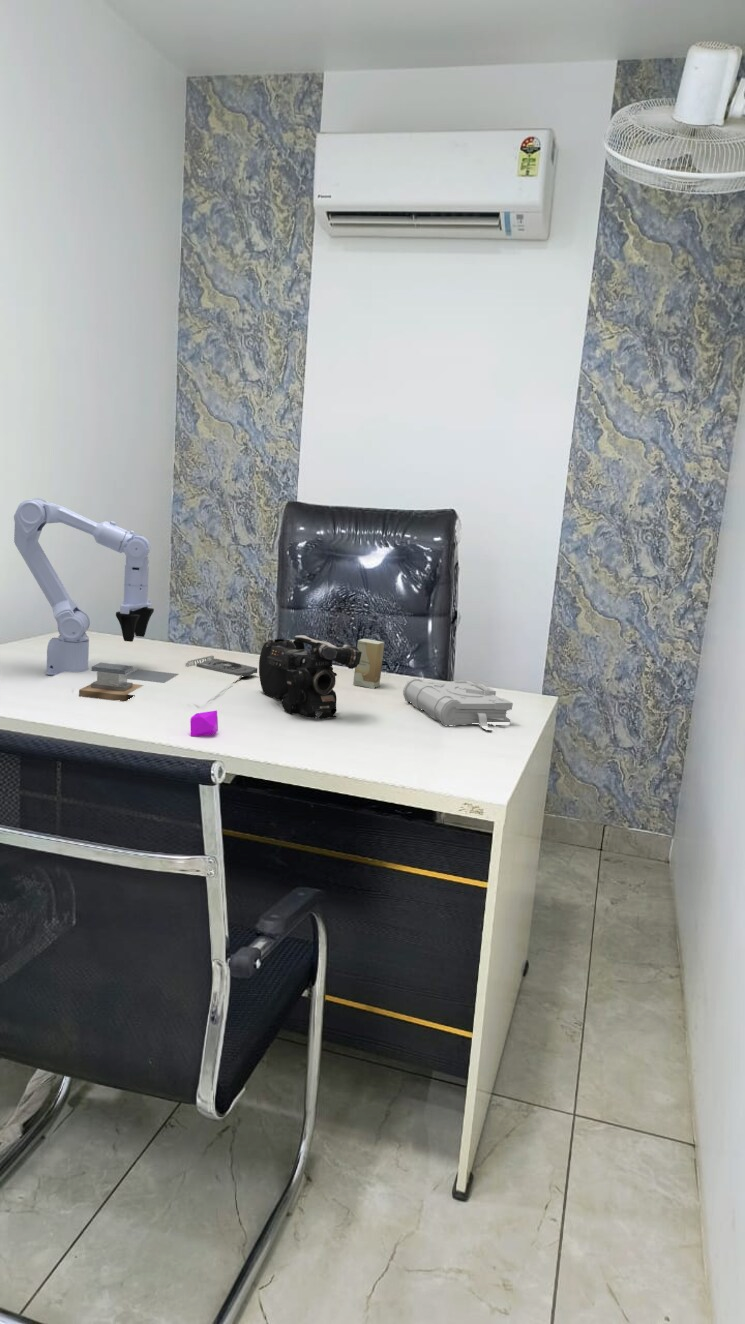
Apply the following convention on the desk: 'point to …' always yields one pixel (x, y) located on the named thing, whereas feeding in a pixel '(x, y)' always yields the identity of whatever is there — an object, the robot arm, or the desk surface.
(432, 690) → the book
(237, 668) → the graphics card
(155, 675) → the stand
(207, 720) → the crystal
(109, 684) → the block
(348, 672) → the desk surface
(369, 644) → the skincare box
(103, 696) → the stand
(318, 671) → the movie camera
